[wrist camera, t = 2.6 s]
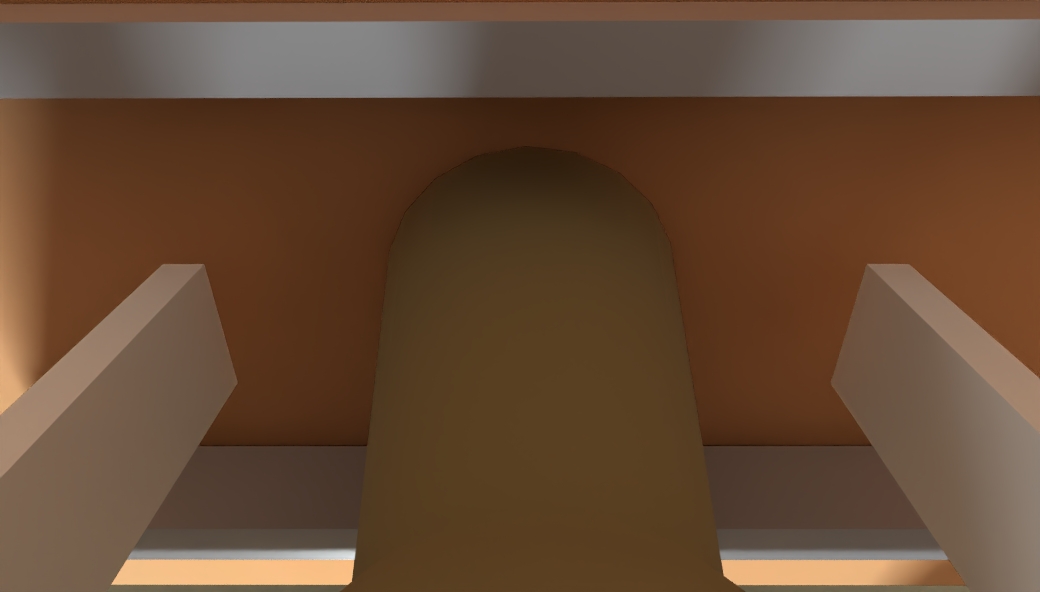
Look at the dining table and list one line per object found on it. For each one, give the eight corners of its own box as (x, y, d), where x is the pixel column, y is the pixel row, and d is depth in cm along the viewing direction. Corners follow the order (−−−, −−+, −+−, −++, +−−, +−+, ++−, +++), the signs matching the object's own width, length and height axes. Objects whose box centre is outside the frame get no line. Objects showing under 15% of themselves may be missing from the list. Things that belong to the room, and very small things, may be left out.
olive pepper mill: (335, 207, 13) (-247, 1077, 3) (631, 100, 12) (1149, 922, 2) (455, 425, 15) (346, 1230, 6) (701, 356, 14) (1052, 1199, 5)
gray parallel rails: (60, 475, 16) (-11, 559, 14) (-179, 4, 11) (-355, 24, 9) (1001, 475, 16) (1075, 559, 14) (1249, -1, 11) (1434, 18, 8)
